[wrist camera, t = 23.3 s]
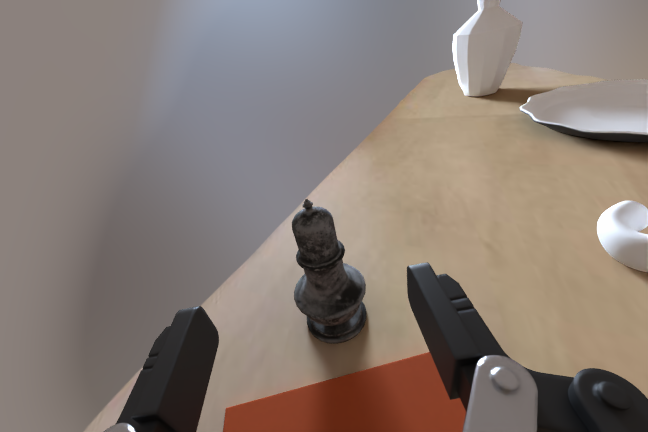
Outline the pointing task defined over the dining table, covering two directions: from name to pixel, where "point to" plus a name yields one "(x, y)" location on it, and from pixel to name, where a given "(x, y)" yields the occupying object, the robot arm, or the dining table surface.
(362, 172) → the dining table surface
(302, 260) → the chess piece
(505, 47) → the vase
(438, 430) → the rectangular block
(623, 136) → the plate
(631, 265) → the stomach
